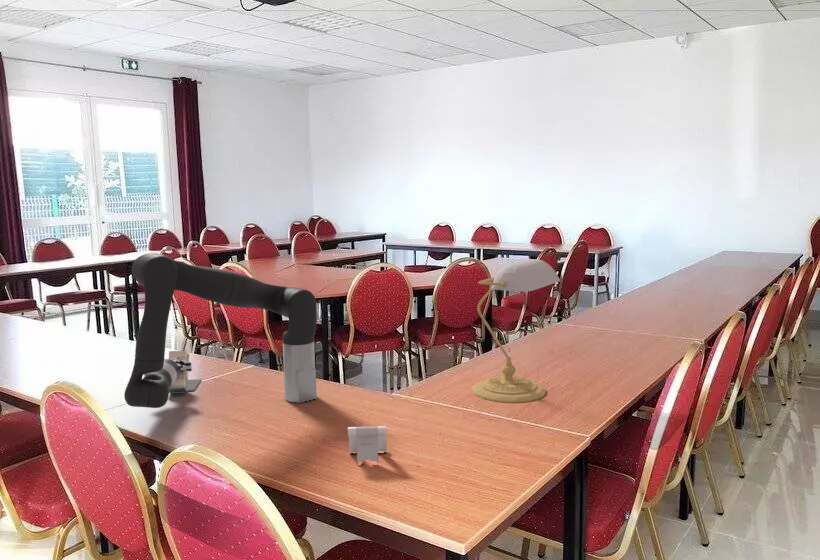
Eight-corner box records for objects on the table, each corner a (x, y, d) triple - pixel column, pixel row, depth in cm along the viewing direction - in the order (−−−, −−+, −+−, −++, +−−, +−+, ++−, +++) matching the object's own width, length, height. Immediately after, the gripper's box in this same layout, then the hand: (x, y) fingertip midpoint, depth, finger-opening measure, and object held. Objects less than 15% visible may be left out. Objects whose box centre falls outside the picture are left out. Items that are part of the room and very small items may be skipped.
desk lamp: (524, 412, 180) (526, 268, 175) (452, 398, 193) (451, 264, 187) (563, 383, 206) (566, 258, 200) (497, 373, 218) (497, 255, 213)
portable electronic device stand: (386, 451, 154) (386, 417, 153) (386, 465, 146) (386, 429, 145) (350, 452, 154) (349, 418, 153) (348, 466, 146) (347, 430, 145)
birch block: (183, 388, 198) (185, 350, 202) (166, 389, 197) (169, 351, 201) (187, 392, 202) (189, 354, 207) (170, 392, 202) (172, 355, 206)
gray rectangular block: (194, 391, 203) (194, 390, 203) (164, 392, 202) (164, 391, 202) (201, 380, 215) (201, 379, 215) (173, 381, 214) (173, 380, 214)
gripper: (186, 361, 183) (197, 347, 200) (137, 363, 182) (153, 349, 199) (187, 387, 184) (199, 370, 201) (139, 389, 183) (154, 372, 200)
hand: (176, 360), depth 200 cm, fingers closed
